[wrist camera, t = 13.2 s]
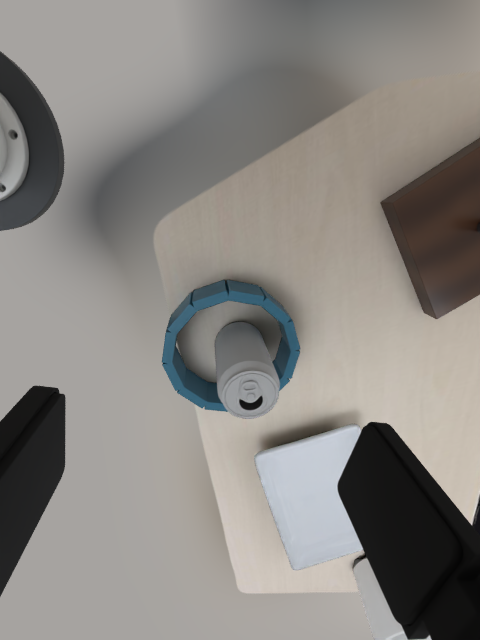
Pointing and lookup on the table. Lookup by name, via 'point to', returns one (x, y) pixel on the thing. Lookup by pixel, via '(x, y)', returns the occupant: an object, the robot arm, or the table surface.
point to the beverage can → (245, 371)
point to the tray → (310, 495)
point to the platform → (441, 231)
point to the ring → (210, 296)
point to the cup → (376, 604)
